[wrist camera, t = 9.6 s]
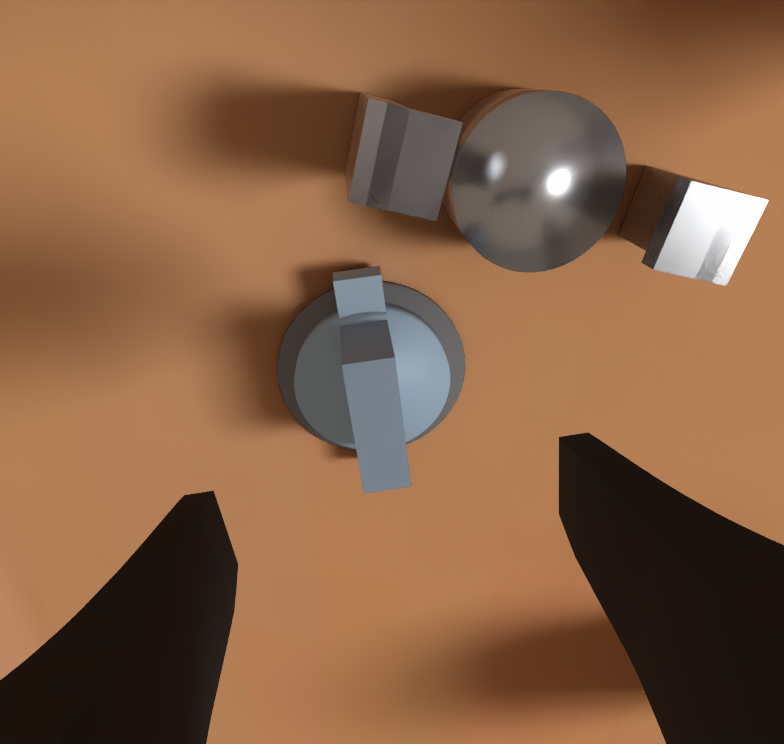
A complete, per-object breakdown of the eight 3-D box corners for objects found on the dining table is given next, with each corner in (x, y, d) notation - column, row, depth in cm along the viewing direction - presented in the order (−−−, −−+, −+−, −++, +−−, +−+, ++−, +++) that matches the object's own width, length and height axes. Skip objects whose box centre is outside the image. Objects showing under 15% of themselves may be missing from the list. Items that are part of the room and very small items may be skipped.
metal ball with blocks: (689, 131, 20) (793, 149, 15) (629, 275, 22) (705, 328, 17) (369, 44, 18) (381, 35, 13) (337, 211, 20) (338, 252, 15)
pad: (486, 301, 22) (488, 303, 21) (436, 458, 25) (437, 462, 24) (294, 262, 20) (293, 265, 20) (265, 433, 23) (265, 437, 23)
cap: (452, 449, 24) (473, 514, 21) (315, 469, 24) (312, 539, 20) (436, 258, 20) (458, 297, 17) (274, 280, 20) (262, 324, 17)
